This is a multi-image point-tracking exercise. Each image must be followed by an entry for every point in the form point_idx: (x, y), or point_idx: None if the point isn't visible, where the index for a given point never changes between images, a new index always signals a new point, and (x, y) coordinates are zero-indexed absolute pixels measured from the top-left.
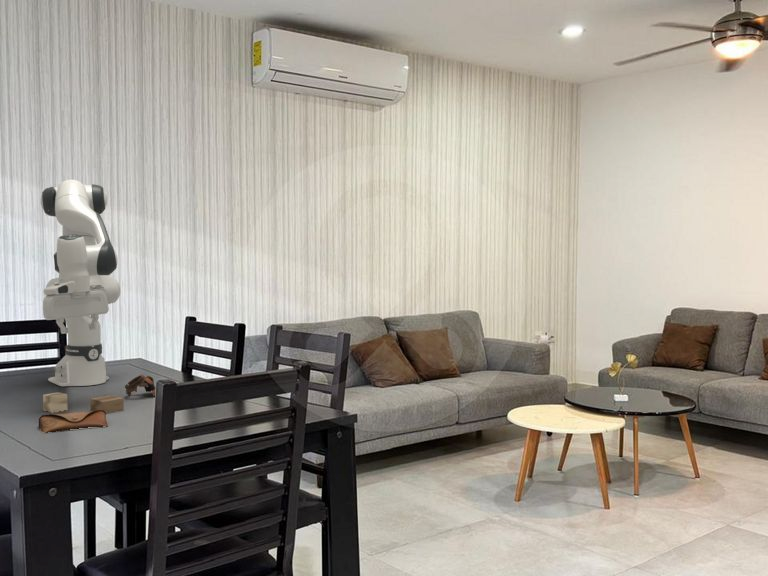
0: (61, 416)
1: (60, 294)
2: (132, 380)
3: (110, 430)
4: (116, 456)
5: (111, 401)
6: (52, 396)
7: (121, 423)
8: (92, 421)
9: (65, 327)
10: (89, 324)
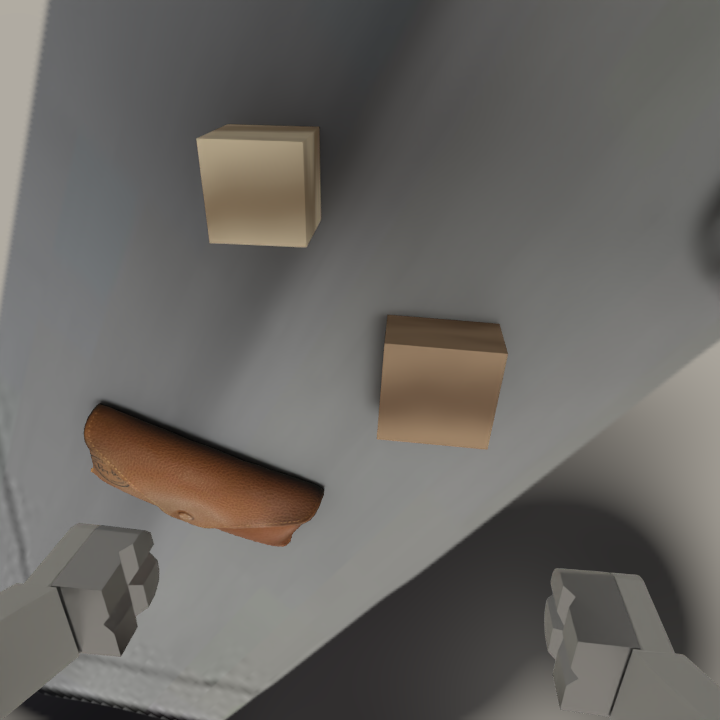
0: (143, 494)
1: None
2: None
3: (265, 574)
4: (164, 702)
5: (422, 440)
6: (217, 235)
7: (337, 544)
8: (238, 535)
9: (103, 611)
10: (569, 666)
